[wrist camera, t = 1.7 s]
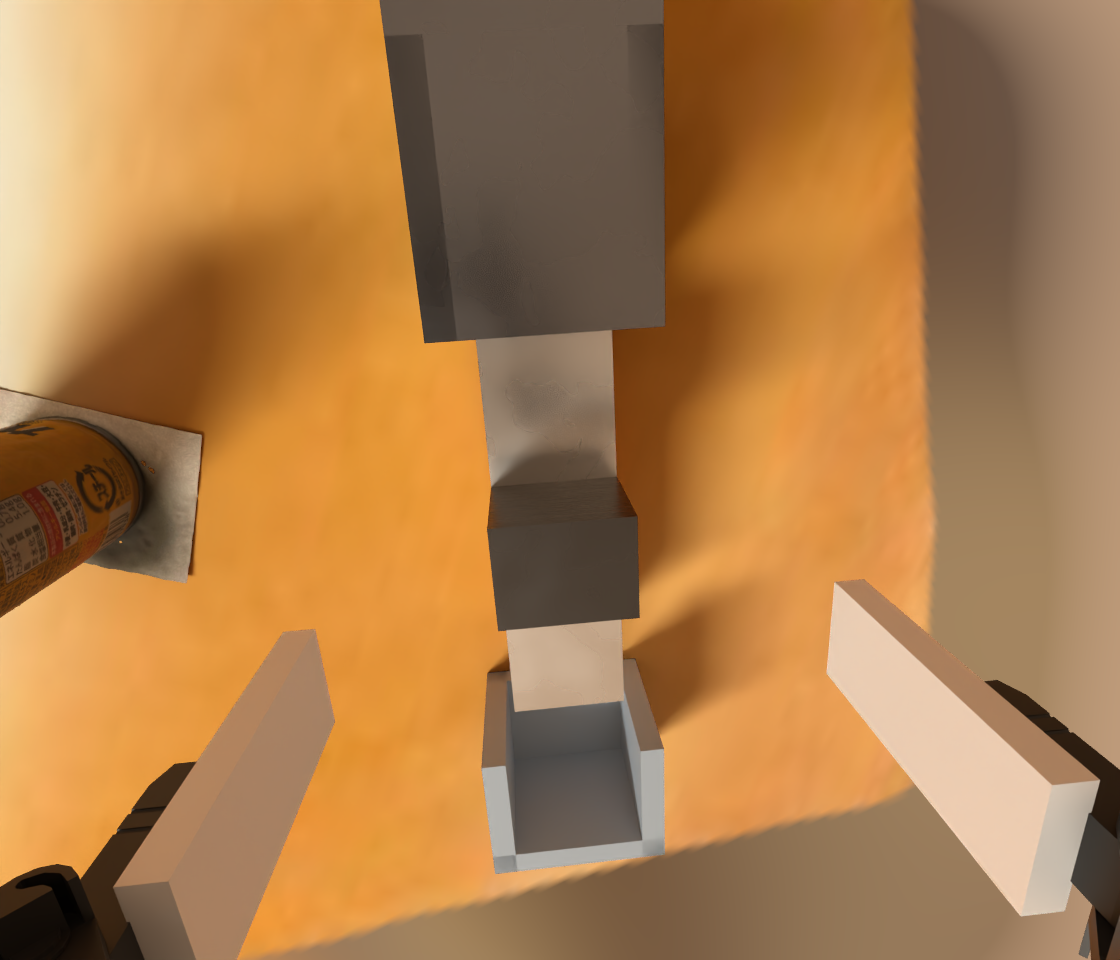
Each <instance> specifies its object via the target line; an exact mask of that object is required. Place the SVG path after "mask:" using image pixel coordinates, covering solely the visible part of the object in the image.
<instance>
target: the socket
mask: <svg viewBox="0 0 1120 960" xmlns="http://www.w3.org/2000/svg"><path fill="white" fill-rule="evenodd" d="M623 684H624V701H617V702H607V703H597V704H587V705H577V706H567V707H558V708H548V709H538V710H528V711H518V712H515V709H514V700H513V690H512V680H511V671H503V672H492V673H487V688H486V704H485V720H484V736H483V753H482V776H483V783H484V791H485V799H486V806H487V814H488V822H489V829H490V837H491V845H492V852H493V860H494V868H495V874H499V873H508V872H517V871H525V870H534V869H543V868H551V867H560V866H569V865H578V864H586V863H595V862H604V861H612V860H621V859H630V858H638V857H647V856H656V855H665V830H664V748H663V744H662V741H661V738H660V735H659V732H658V729H657V726H656V723H655V719H654V716H653V713H652V710H651V707H650V704H649V701H648V698H647V695H646V691H645V688H644V685H643V682H642V679H641V676H640V673H639V670H638V666H637V663H636V660H635V659H625V660H623Z"/></svg>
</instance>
